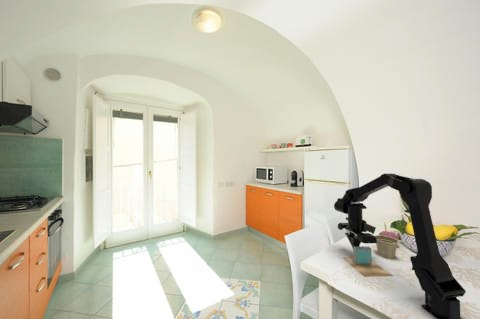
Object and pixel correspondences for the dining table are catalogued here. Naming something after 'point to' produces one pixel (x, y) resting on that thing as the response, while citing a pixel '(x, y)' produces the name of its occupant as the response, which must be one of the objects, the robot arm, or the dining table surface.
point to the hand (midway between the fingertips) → (355, 250)
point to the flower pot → (386, 246)
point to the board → (368, 269)
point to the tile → (362, 255)
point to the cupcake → (388, 233)
